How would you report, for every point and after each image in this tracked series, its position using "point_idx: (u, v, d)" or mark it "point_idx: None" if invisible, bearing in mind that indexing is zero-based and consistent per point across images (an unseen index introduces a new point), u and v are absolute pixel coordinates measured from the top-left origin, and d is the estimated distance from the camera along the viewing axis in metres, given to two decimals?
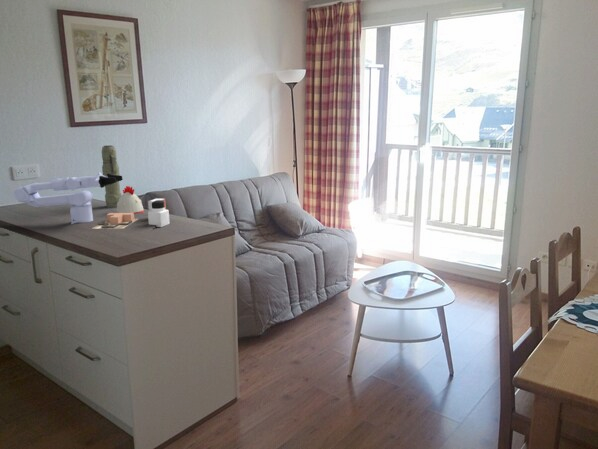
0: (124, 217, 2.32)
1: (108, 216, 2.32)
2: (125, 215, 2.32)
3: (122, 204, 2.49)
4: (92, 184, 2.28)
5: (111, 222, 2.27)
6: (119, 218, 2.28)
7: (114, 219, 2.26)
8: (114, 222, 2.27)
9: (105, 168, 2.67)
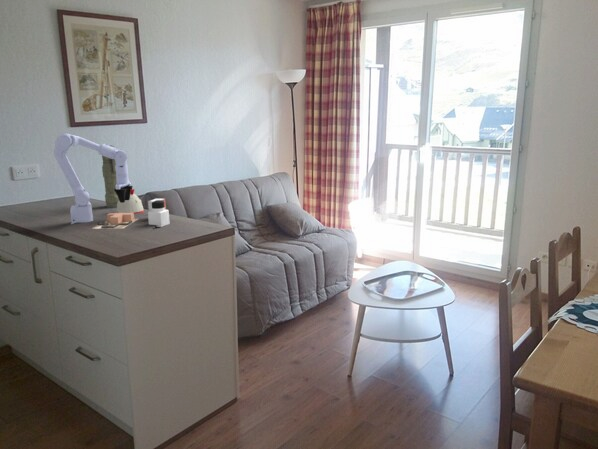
0: (124, 217, 2.32)
1: (108, 216, 2.32)
2: (125, 215, 2.32)
3: (122, 204, 2.49)
4: (118, 177, 2.34)
5: (111, 222, 2.27)
6: (119, 218, 2.28)
7: (114, 219, 2.26)
8: (114, 222, 2.27)
9: (105, 168, 2.67)
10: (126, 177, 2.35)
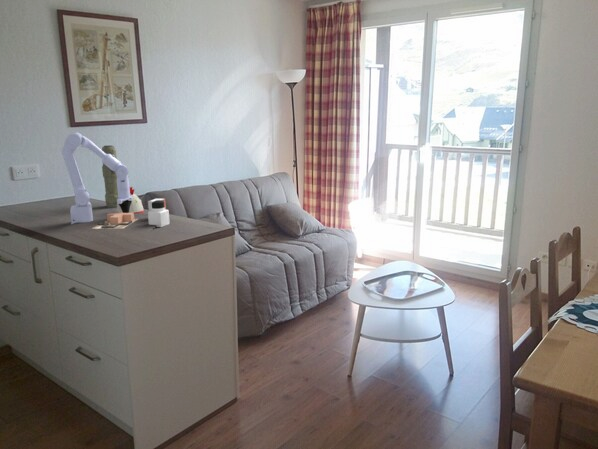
0: (124, 217, 2.32)
1: (108, 216, 2.32)
2: (125, 215, 2.32)
3: None
4: (119, 192, 2.36)
5: (111, 222, 2.27)
6: (119, 218, 2.28)
7: (114, 219, 2.26)
8: (114, 222, 2.27)
9: (105, 168, 2.67)
10: (127, 191, 2.37)
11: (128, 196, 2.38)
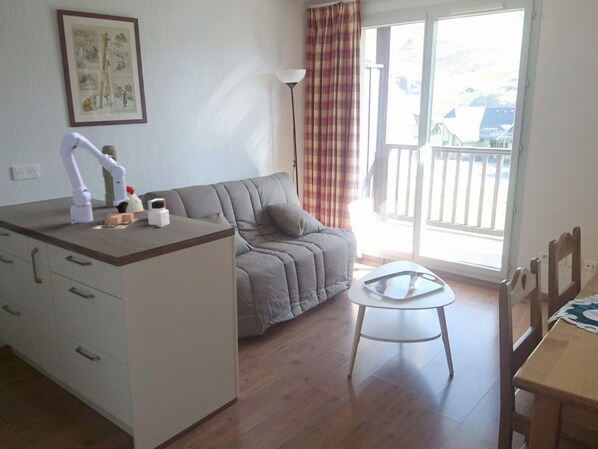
0: (124, 217, 2.32)
1: (108, 216, 2.32)
2: (125, 215, 2.31)
3: None
4: (116, 193, 2.32)
5: (111, 222, 2.26)
6: (118, 218, 2.27)
7: (114, 219, 2.26)
8: (114, 222, 2.26)
9: None
10: (124, 193, 2.33)
11: (125, 198, 2.34)
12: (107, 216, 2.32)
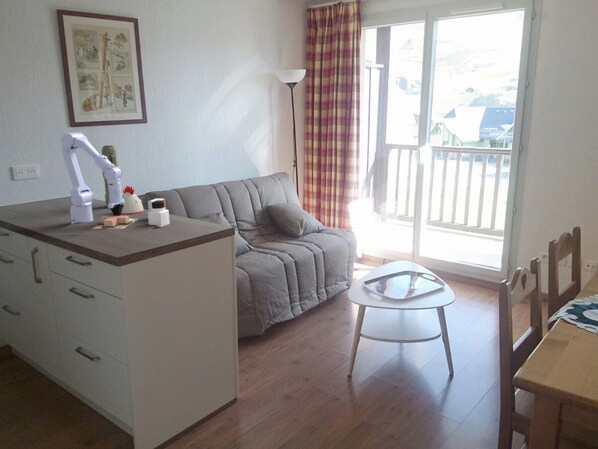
0: (119, 220, 2.26)
1: (102, 219, 2.26)
2: (120, 218, 2.25)
3: (122, 204, 2.49)
4: (110, 195, 2.26)
5: (105, 225, 2.20)
6: (113, 221, 2.21)
7: (108, 222, 2.20)
8: (108, 225, 2.20)
9: None
10: (119, 195, 2.27)
11: (120, 200, 2.28)
12: (102, 219, 2.26)
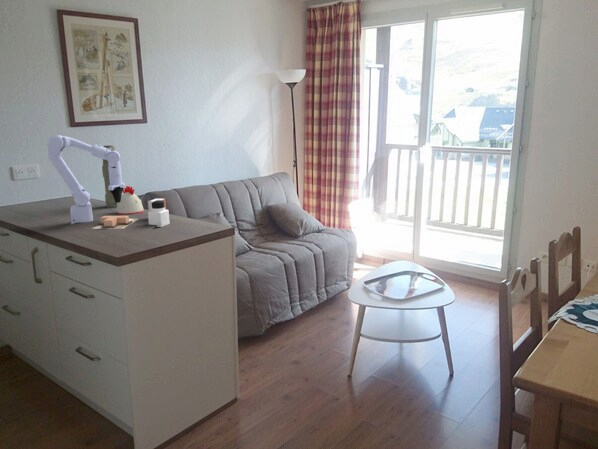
0: (119, 220, 2.26)
1: (102, 219, 2.26)
2: (120, 218, 2.25)
3: (122, 204, 2.49)
4: (111, 178, 2.32)
5: (105, 225, 2.20)
6: (113, 221, 2.21)
7: (108, 222, 2.20)
8: (108, 225, 2.20)
9: (105, 168, 2.67)
10: (119, 178, 2.33)
11: (120, 183, 2.34)
12: (102, 219, 2.26)
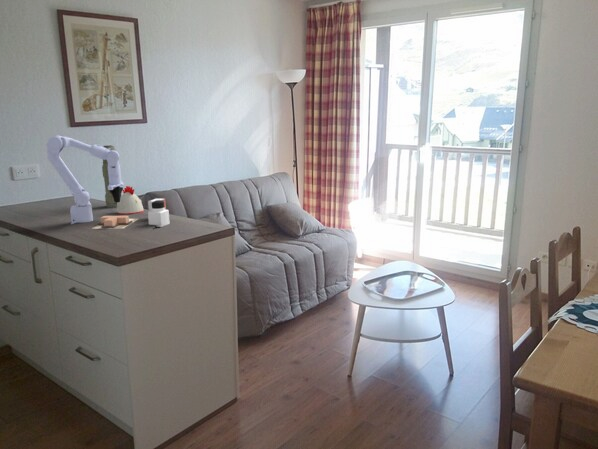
0: (119, 220, 2.26)
1: (102, 219, 2.26)
2: (120, 218, 2.25)
3: (122, 204, 2.49)
4: (110, 178, 2.32)
5: (105, 225, 2.20)
6: (113, 221, 2.21)
7: (108, 222, 2.20)
8: (108, 225, 2.20)
9: (105, 168, 2.67)
10: (118, 178, 2.34)
11: (119, 182, 2.34)
12: (102, 219, 2.26)
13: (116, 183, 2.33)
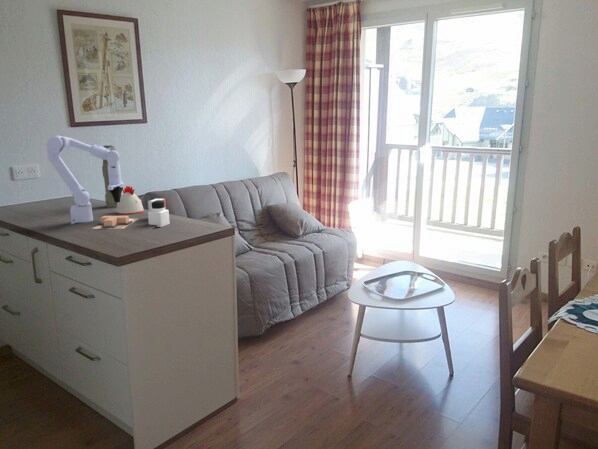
0: (119, 220, 2.26)
1: (102, 219, 2.26)
2: (120, 218, 2.25)
3: (122, 204, 2.49)
4: (110, 178, 2.32)
5: (105, 225, 2.20)
6: (113, 221, 2.21)
7: (108, 222, 2.20)
8: (108, 225, 2.20)
9: (105, 168, 2.67)
10: (118, 178, 2.34)
11: (119, 182, 2.34)
12: (102, 219, 2.26)
13: (116, 183, 2.33)
